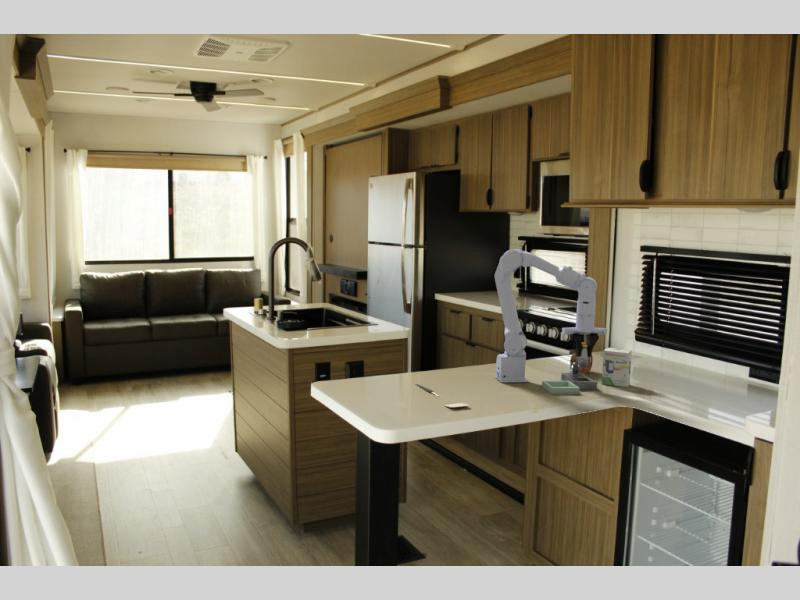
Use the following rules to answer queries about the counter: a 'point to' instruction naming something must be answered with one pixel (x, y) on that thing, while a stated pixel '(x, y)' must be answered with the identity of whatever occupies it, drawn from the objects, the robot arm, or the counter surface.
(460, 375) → the counter surface
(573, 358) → the tin
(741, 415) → the counter surface
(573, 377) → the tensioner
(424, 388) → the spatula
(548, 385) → the tray
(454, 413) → the counter surface
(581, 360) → the pin
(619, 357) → the ink box
